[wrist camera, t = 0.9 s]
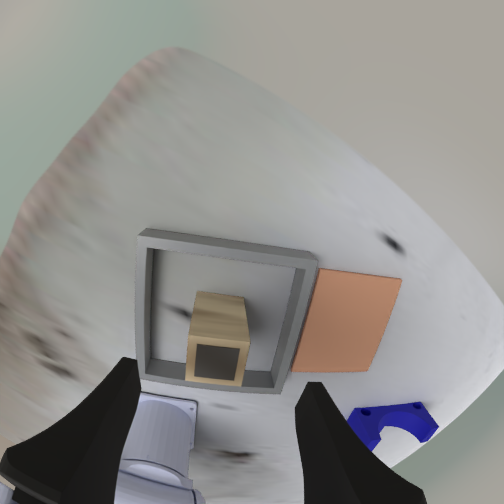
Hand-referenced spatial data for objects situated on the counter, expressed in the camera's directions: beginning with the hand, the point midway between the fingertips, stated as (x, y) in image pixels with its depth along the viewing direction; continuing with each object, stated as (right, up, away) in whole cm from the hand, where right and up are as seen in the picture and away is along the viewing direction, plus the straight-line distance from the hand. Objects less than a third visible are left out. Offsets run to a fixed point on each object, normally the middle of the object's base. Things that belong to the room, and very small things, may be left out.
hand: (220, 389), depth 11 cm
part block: (-2, 0, +14) cm, 14 cm away
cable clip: (+19, -17, +21) cm, 33 cm away
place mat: (+11, -1, +16) cm, 19 cm away
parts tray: (-2, 0, +14) cm, 14 cm away
